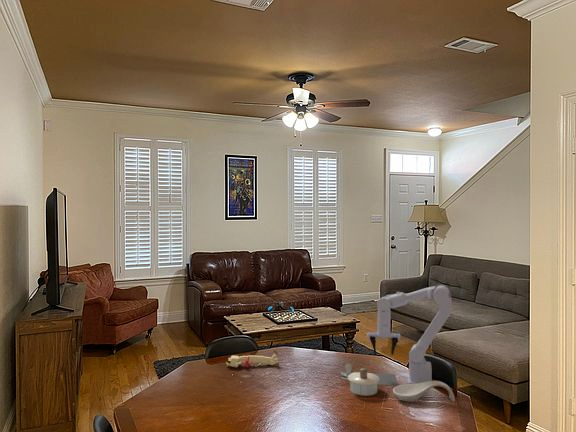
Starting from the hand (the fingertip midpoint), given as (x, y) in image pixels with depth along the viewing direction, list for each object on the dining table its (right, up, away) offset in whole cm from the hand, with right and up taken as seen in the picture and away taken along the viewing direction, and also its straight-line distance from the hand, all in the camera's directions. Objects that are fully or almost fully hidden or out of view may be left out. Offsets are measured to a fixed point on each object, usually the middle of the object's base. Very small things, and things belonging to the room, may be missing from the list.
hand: (383, 353), depth 211 cm
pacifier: (-16, -11, -1) cm, 19 cm away
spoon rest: (+11, -11, -25) cm, 29 cm away
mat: (-2, -10, -4) cm, 11 cm away
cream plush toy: (-60, -11, +16) cm, 63 cm away
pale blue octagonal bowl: (-12, -11, -17) cm, 23 cm away
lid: (-12, -6, -17) cm, 21 cm away
